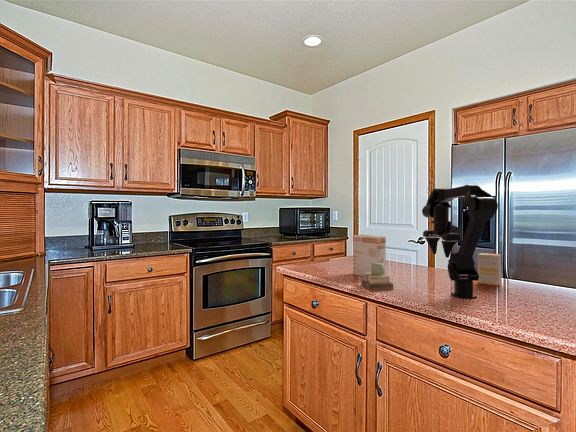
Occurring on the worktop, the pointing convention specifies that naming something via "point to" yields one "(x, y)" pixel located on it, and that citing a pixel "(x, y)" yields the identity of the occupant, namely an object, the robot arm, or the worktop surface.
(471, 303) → the worktop surface
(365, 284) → the base slab
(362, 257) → the coffeecake box
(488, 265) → the supplement box
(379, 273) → the green rounded lump
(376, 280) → the top block
